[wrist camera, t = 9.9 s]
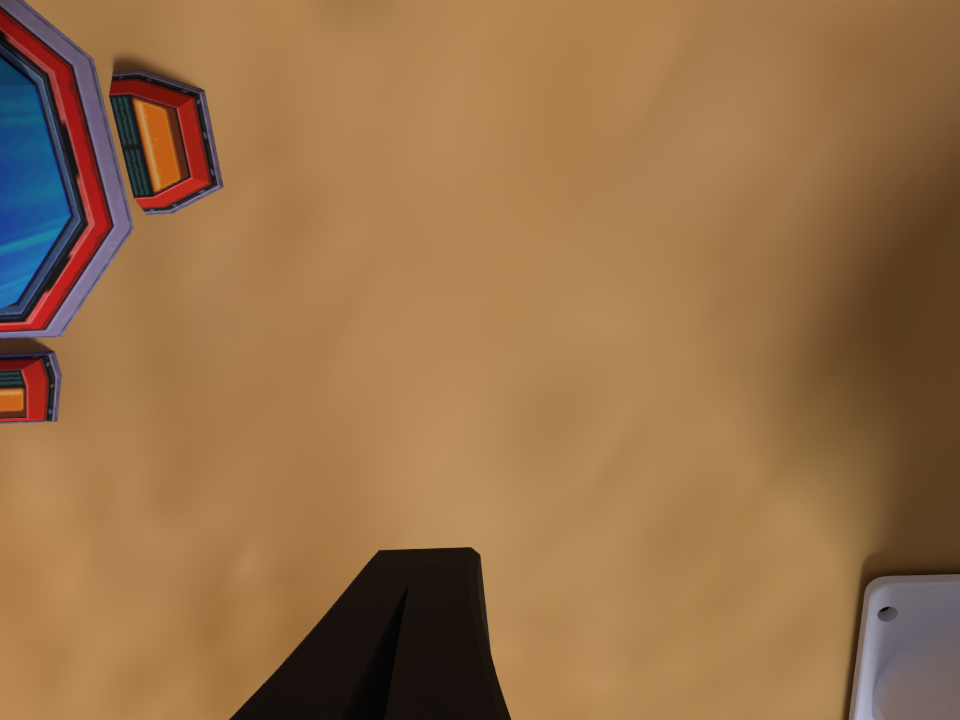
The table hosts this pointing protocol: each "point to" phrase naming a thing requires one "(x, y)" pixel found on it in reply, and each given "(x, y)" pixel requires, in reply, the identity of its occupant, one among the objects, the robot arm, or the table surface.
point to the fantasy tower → (78, 186)
